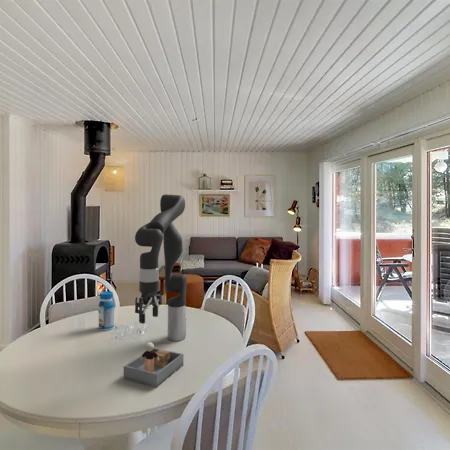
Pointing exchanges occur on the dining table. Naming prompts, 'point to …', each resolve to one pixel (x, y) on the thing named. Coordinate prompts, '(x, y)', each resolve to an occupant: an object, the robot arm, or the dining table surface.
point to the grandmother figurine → (149, 357)
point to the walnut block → (162, 358)
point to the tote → (156, 378)
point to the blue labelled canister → (106, 311)
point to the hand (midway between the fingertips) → (148, 319)
